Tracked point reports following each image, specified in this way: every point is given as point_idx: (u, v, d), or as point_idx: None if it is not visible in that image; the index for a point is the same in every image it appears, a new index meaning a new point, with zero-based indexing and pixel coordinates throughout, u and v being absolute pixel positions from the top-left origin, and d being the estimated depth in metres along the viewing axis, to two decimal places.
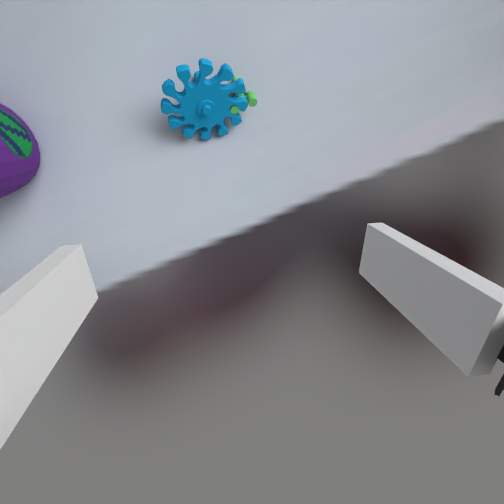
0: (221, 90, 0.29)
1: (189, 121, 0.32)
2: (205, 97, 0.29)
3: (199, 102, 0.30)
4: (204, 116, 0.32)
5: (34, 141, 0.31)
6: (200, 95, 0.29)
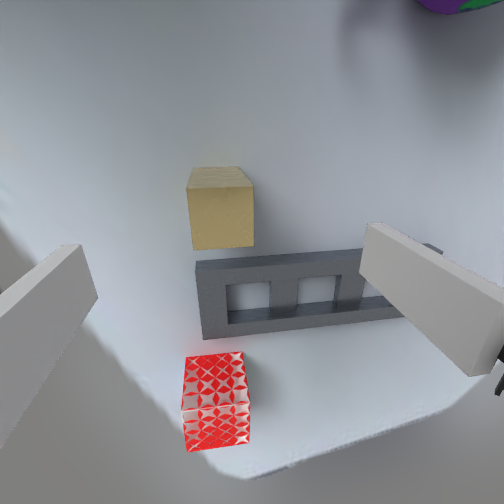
0: None
1: None
2: None
3: None
4: None
5: None
6: None
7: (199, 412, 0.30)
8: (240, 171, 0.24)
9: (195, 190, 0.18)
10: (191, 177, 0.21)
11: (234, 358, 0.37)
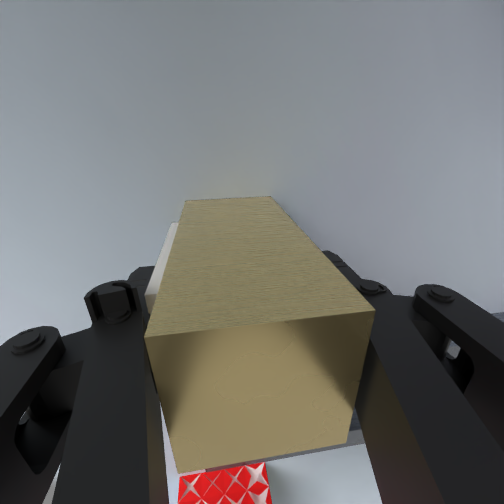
0: None
1: None
2: None
3: None
4: None
5: None
6: None
7: None
8: (283, 214, 0.11)
9: (177, 337, 0.05)
10: (175, 242, 0.09)
11: (253, 474, 0.25)
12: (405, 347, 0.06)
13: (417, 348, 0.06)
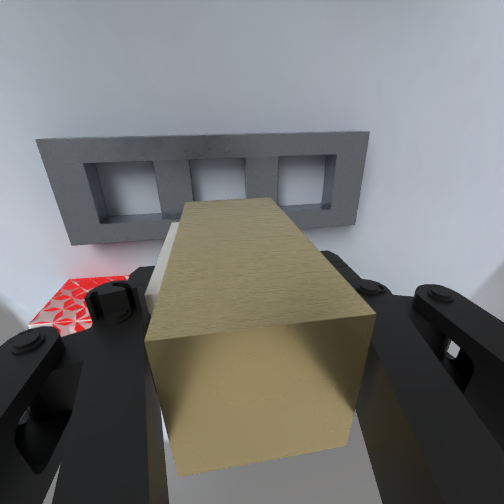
0: None
1: None
2: None
3: None
4: None
5: None
6: None
7: None
8: (283, 215, 0.11)
9: (177, 342, 0.05)
10: (175, 244, 0.09)
11: None
12: (405, 347, 0.06)
13: (417, 348, 0.06)
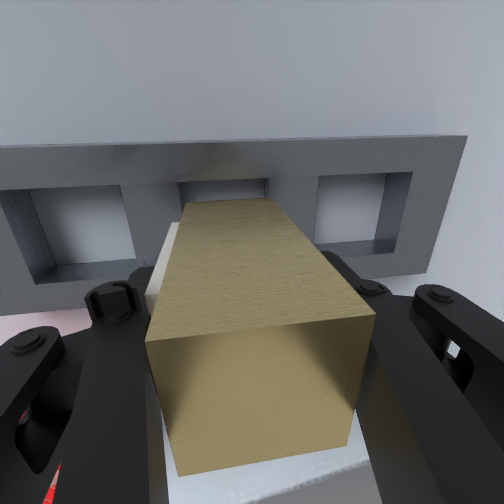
0: None
1: None
2: None
3: None
4: None
5: None
6: None
7: None
8: (283, 215, 0.11)
9: (178, 343, 0.05)
10: (176, 245, 0.09)
11: None
12: (405, 347, 0.06)
13: (417, 348, 0.06)
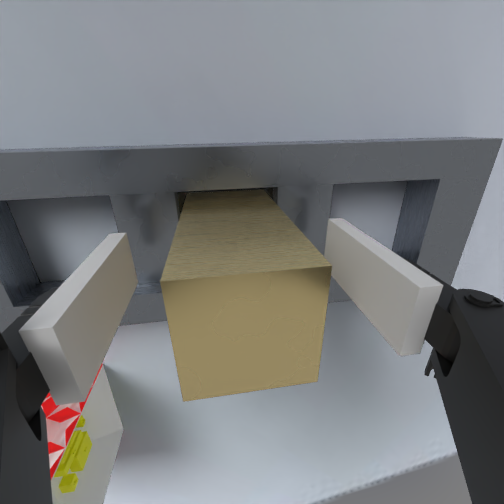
0: None
1: None
2: None
3: None
4: None
5: None
6: None
7: None
8: (272, 202, 0.13)
9: (184, 283, 0.07)
10: (180, 223, 0.10)
11: None
12: None
13: None
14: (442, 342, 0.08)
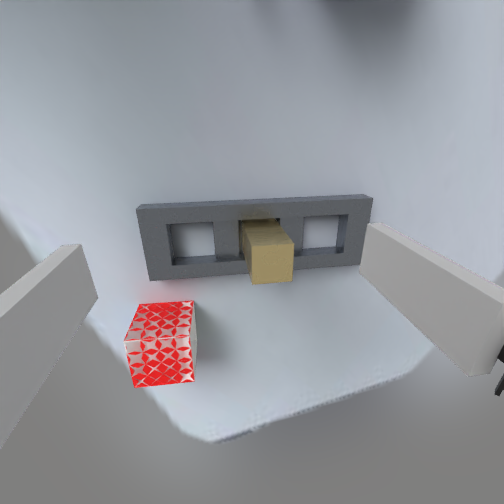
0: None
1: None
2: None
3: None
4: None
5: None
6: None
7: (141, 343, 0.33)
8: (278, 224, 0.34)
9: (257, 247, 0.27)
10: (247, 232, 0.31)
11: (185, 306, 0.40)
12: None
13: None
14: None
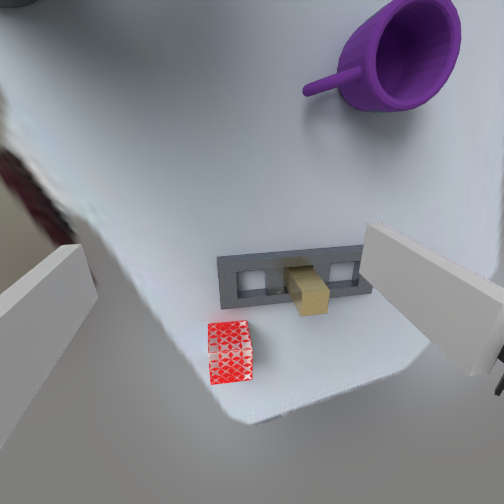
0: None
1: None
2: None
3: None
4: None
5: None
6: None
7: (219, 354, 0.47)
8: (313, 269, 0.48)
9: (305, 293, 0.41)
10: (294, 278, 0.45)
11: (241, 324, 0.54)
12: None
13: None
14: None
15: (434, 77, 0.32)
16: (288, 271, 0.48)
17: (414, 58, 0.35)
